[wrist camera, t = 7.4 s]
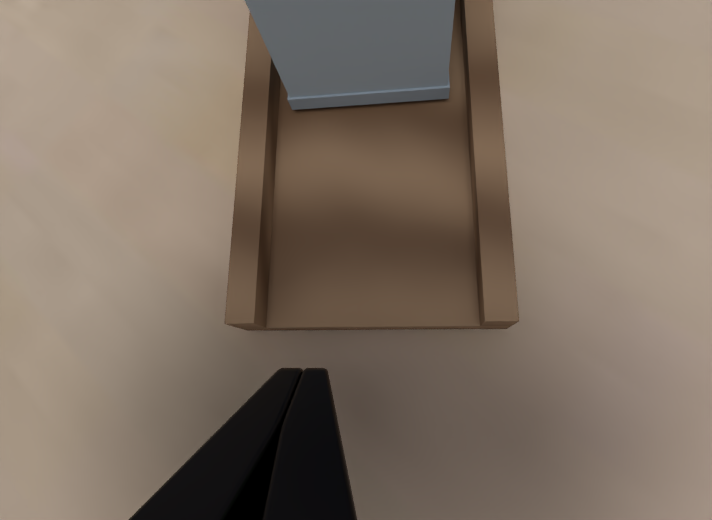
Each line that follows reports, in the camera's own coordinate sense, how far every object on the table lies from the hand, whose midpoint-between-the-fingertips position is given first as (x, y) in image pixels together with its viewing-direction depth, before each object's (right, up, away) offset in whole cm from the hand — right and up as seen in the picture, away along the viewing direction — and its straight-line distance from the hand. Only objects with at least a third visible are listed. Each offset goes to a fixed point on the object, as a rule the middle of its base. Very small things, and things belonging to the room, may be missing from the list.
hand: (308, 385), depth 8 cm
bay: (+2, +8, +14) cm, 17 cm away
